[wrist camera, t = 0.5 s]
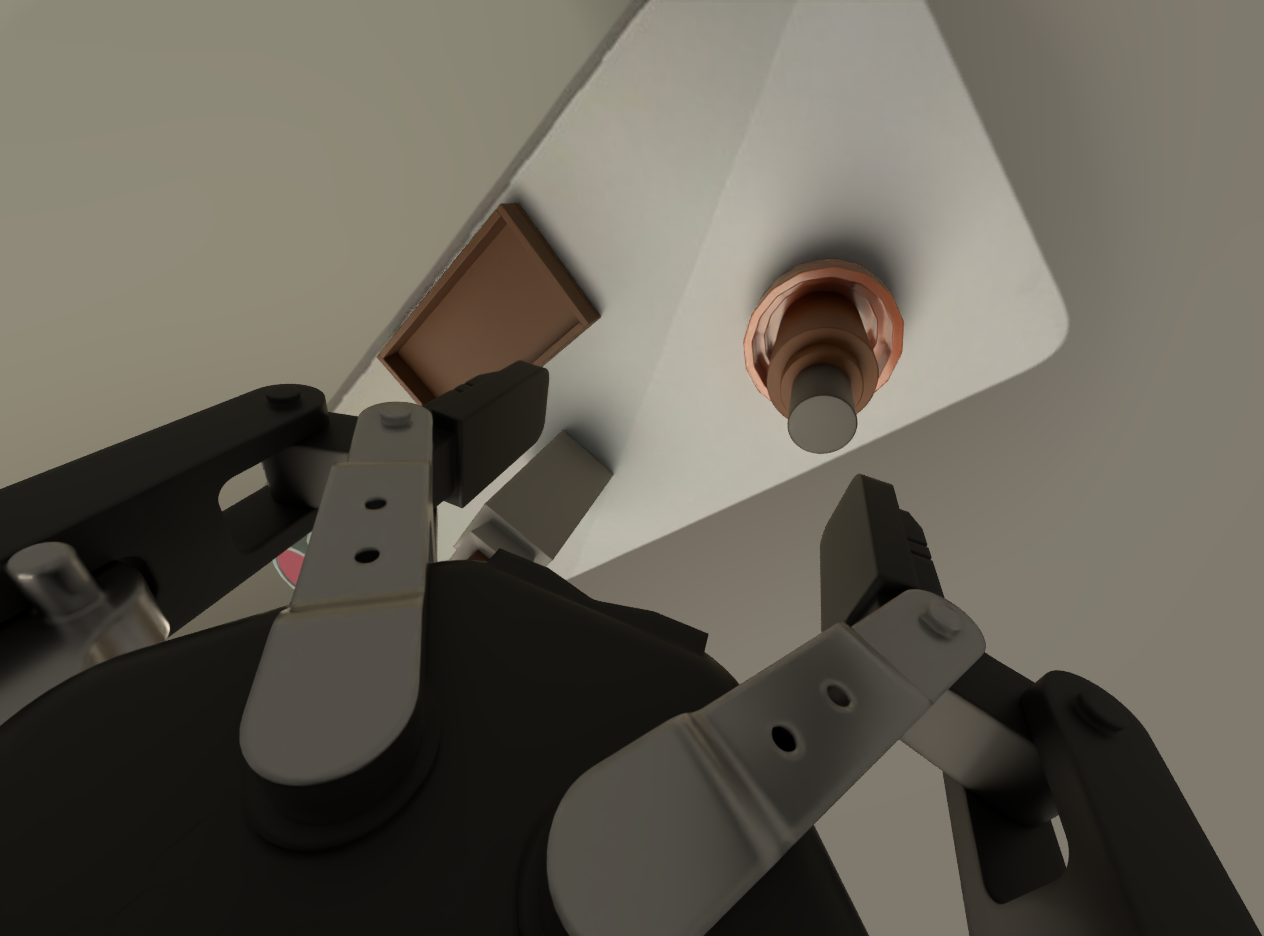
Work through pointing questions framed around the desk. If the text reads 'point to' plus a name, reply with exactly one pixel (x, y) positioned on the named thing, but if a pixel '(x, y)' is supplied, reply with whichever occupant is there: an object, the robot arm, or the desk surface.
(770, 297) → the bowl
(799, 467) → the desk surface
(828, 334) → the bottle
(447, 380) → the tray
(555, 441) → the perfume bottle
